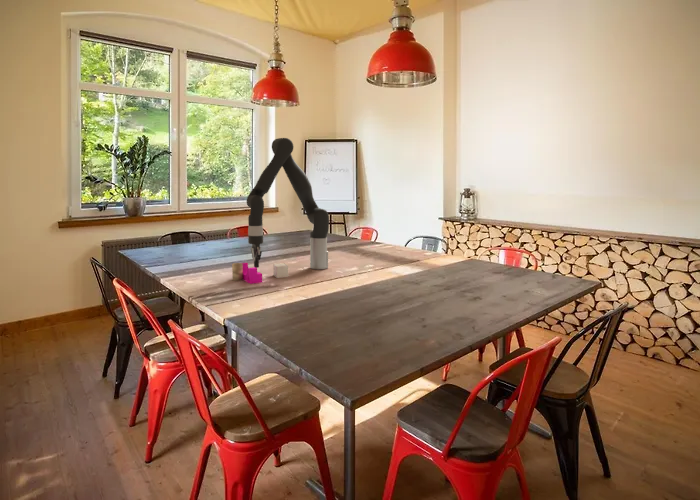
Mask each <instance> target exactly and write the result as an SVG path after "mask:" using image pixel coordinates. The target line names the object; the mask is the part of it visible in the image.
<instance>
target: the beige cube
mask: <svg viewBox="0 0 700 500" xmlns="http://www.w3.org/2000/svg"><path fill="white" fill-rule="evenodd" d="M272 265H273V276H274V277H275V278H277V279H278V278H279V279H281V278H289V265H288V264H287V263H284V262H283V263H274V264H272Z"/></svg>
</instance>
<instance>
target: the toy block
mask: <svg viewBox="0 0 700 500" xmlns="http://www.w3.org/2000/svg"><path fill="white" fill-rule="evenodd" d="M241 263H242V264H243V280H242V281H244V282H246V283H248V284H249V283H250V285H252V284H261V283H263V273H261V272H260V271H258V268H256V267H254V266H253V267H249V263H248V262H241Z"/></svg>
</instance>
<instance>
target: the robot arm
mask: <svg viewBox="0 0 700 500" xmlns="http://www.w3.org/2000/svg"><path fill="white" fill-rule="evenodd" d="M271 150H272V153H273V157H272V158H271V161H270V162H269V163H268V165H267V166H266V167H265V169H263V171H262V173H261V174H260V176H259V177H258V179H257V181H256V183H255V186H254V187H253V189H251V191H250V192H249V194H248V195H247V198H246V206H248V208H250V214H249V215H248V218H247V219H248V227H247V228H248V230H247V236H248V238H247V240H248V244H249V245H251V247H250V251H251V257H252V261H253V267H256V268H257V269H258V268H259V267H260V261H261V258H262V254H263V253H262V250H261V249H262V248H261V245H262V244H264V228H263V227H264V226H263V216H264V209H265V202H264V199H263V197H264V196H265V195H266V194H268V192H269V191H270V189H271V187H272V185H273V183H274V182H275V181H274V180H275V179H276V177H277V175H278V174H279V172H280V170H281V168H283V170H284V172H285V174H286V176H287V178H288V179H287V180H289V182H290V185H291V187H292V188H293V190H294V192H295V194H296V195H297V197H298V199H299V201H300V203H301V205H302V206H303V209H304V212H305V214H306V217H307V219H308V221H309V223H310V224H313V227H312V228H313V229H312V231H311V232H310V233H309V234H310V235H309V236H310V238H309V239H310V242H309V243H310V247H309V248H310V249H309V255H310V256H309V258H310V259H309V260H310V262H309V267H310V269H312V270H325V269H328V268H329V251H328V235H329V234H328V233H329V229H330V228H329V226H330V217H329V216H330V215H329V213H328V211H327V209H324V208H319V206H318V204H317V203H316V200H315V198H314V195H313V189H312V185H311V182H310V179H309V178H308V176H307V174H306V172H304V170H303V169H302V168H301V167H300V166H299V165H298V163H297V162H296V161H295V159H294V157H293V155H292V153H293V151H294V142H293V141H292V140H291V139H290V138H288V137H278V138H275V139H274V140H273V141H272V143H271Z"/></svg>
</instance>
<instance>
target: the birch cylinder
mask: <svg viewBox="0 0 700 500" xmlns="http://www.w3.org/2000/svg"><path fill="white" fill-rule="evenodd" d="M242 263H243V262H233V263H232V264H231V268H232V269H231V273H232V274H231V275H232V282H241V281H244V280H243V264H242Z"/></svg>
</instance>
